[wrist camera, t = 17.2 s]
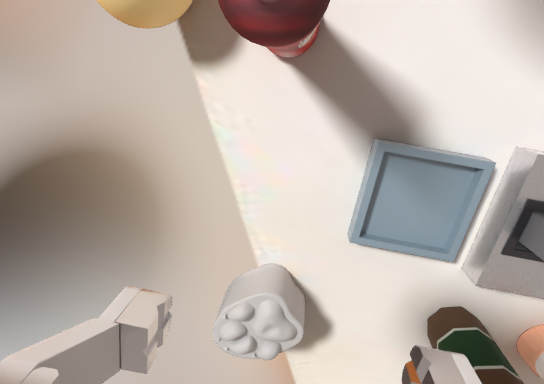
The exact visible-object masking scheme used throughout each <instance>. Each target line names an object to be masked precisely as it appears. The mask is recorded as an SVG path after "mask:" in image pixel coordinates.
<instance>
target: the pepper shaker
mask: <svg viewBox="0 0 544 384" xmlns="http://www.w3.org/2000/svg"><path fill="white" fill-rule="evenodd" d="M517 350H518V352H519V354H520V355H521V356H522V358H523V359H524V360H525V362H526V363H527V364H528V366H529V367H530V368H531V370H532V371H533V372H534V373H535V374H536V375H537V376H539V377H541V378H542V379H543V381H544V325H539V326H535V327H532V328H530V329H528V330H526V331H525V332H524V333H523V334H522V335H521V336H520V338H519V339H518V341H517Z"/></svg>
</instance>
